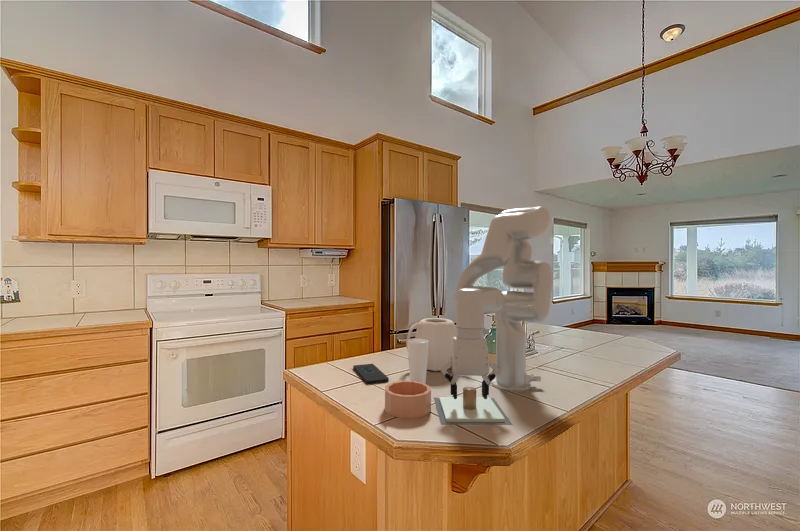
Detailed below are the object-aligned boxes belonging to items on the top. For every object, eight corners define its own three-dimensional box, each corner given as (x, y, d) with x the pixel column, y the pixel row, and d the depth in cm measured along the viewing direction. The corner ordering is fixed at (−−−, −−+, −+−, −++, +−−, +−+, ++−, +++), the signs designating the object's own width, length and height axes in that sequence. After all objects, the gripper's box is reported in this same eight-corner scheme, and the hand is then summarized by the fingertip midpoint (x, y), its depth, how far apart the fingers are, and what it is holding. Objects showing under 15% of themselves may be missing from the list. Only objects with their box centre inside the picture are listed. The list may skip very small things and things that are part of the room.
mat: (493, 399, 108) (493, 397, 108) (512, 426, 90) (512, 424, 90) (433, 399, 108) (433, 397, 108) (440, 426, 90) (440, 424, 90)
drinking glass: (426, 389, 116) (427, 343, 116) (406, 388, 117) (406, 342, 117) (429, 383, 122) (429, 339, 122) (409, 381, 124) (410, 338, 124)
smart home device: (372, 363, 142) (389, 378, 124) (372, 367, 142) (389, 383, 124) (352, 365, 139) (366, 380, 120) (352, 369, 139) (366, 385, 120)
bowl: (428, 401, 106) (428, 380, 106) (432, 419, 93) (432, 396, 93) (385, 401, 106) (385, 380, 106) (384, 419, 93) (384, 396, 93)
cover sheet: (489, 399, 106) (489, 380, 106) (504, 421, 91) (505, 399, 91) (439, 399, 106) (439, 380, 106) (446, 421, 91) (446, 399, 91)
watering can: (479, 370, 137) (479, 321, 137) (412, 375, 130) (412, 323, 130) (462, 360, 152) (462, 315, 152) (401, 364, 145) (401, 317, 145)
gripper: (497, 331, 102) (497, 392, 102) (436, 330, 102) (436, 392, 102) (505, 336, 95) (505, 402, 95) (440, 335, 95) (439, 402, 95)
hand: (469, 397), depth 99 cm, fingers open, 7 cm apart
